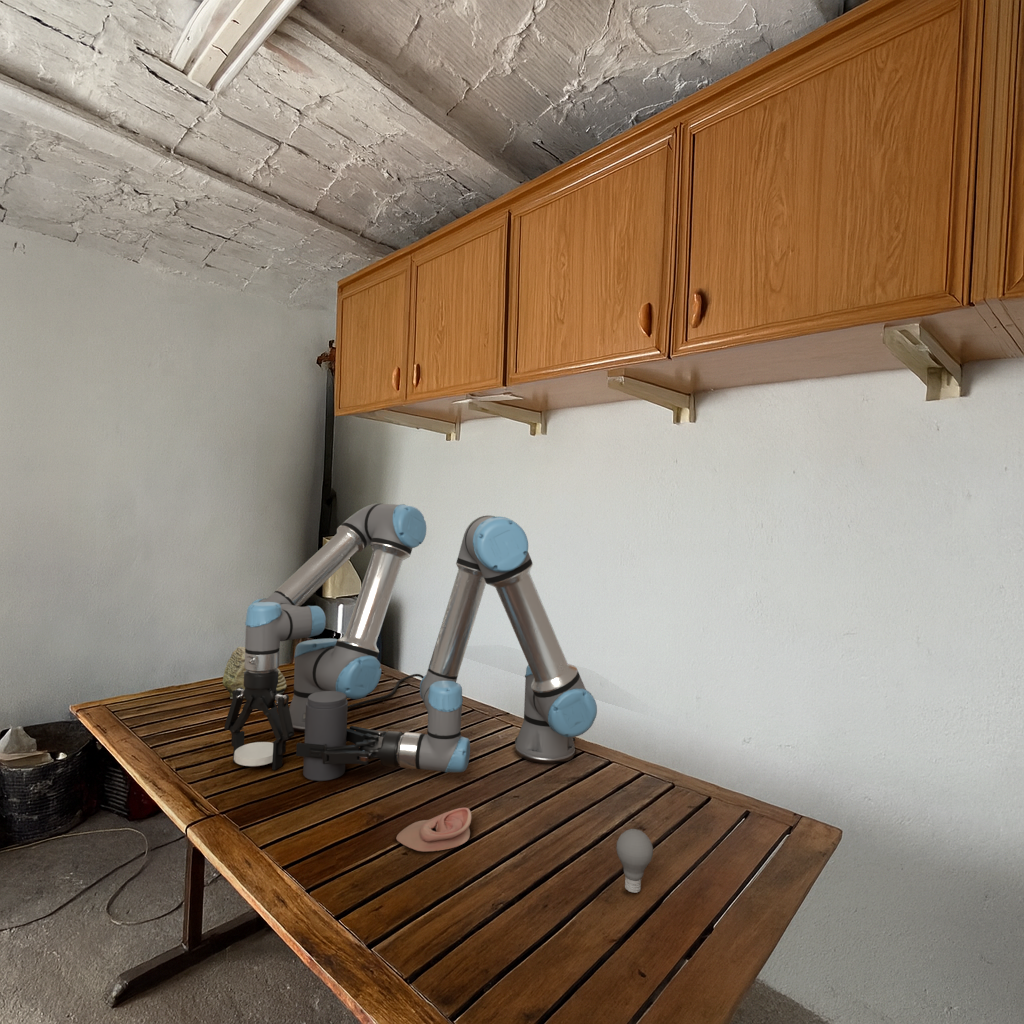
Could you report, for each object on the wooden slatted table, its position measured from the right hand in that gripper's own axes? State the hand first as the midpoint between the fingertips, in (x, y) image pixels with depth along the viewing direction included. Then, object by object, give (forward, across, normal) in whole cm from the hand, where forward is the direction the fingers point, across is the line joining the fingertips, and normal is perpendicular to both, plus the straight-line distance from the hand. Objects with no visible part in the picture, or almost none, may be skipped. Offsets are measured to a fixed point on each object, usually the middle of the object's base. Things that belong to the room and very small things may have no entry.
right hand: (306, 740), depth 146 cm
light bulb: (-72, -32, -7) cm, 79 cm away
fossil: (+39, +48, -7) cm, 62 cm away
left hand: (+12, 0, -7) cm, 14 cm away
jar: (-4, 0, -7) cm, 8 cm away
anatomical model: (-36, -22, -7) cm, 43 cm away
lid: (+12, 0, -4) cm, 13 cm away
